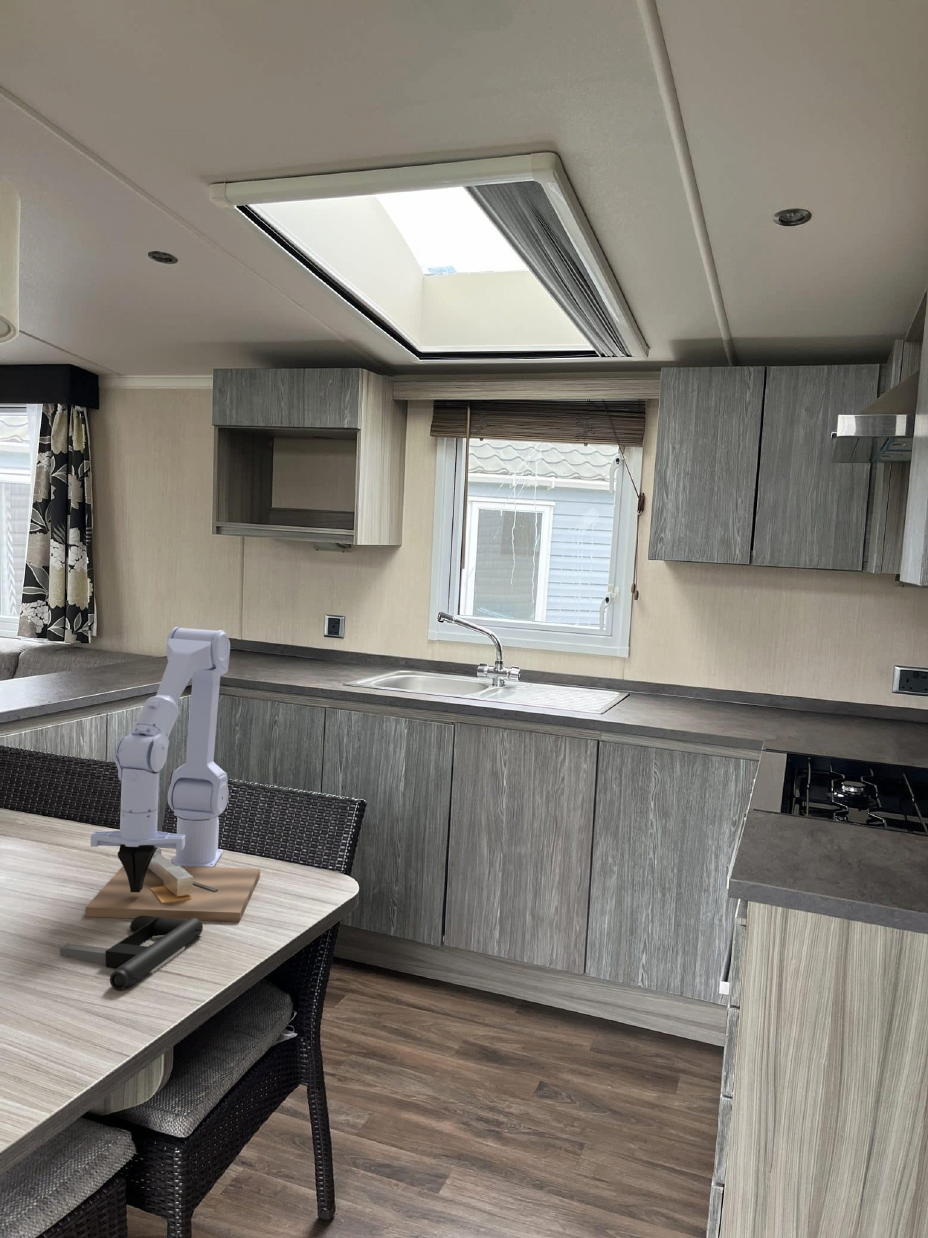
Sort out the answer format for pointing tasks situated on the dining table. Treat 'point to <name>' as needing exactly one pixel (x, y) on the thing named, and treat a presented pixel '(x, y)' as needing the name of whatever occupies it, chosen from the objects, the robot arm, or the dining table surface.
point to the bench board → (211, 899)
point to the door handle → (139, 948)
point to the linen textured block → (171, 875)
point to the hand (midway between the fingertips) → (136, 890)
